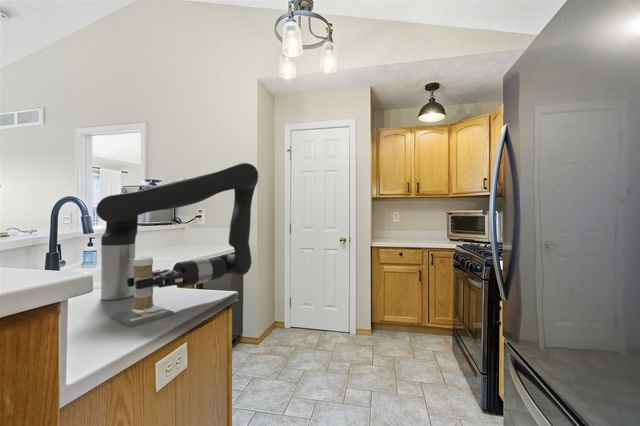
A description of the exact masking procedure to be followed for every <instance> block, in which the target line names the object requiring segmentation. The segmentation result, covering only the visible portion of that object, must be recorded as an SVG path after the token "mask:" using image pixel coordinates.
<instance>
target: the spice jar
mask: <svg viewBox="0 0 640 426" xmlns="http://www.w3.org/2000/svg"><path fill="white" fill-rule="evenodd" d="M153 259H154V258H153V256H140V257H135V259H133V266H134V295H133V299H134V300H133V301H134V302H133V304H134V305H133V309H135V310H145V309H149V308H151V307H153V304H154V303H153V302H154V297H153V294H154V287H148V288H143V289H136V288H135V282H136V281H137V280H142V279H148V278H153V275H152V271H153V266H154V265H153V264H154V260H153Z"/></svg>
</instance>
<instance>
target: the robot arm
mask: <svg viewBox="0 0 640 426" xmlns="http://www.w3.org/2000/svg"><path fill="white" fill-rule="evenodd" d="M258 181H259V171H258V169H257V168H256V166H255V165H253V164H251V163H249V162H248V163H247V162H242V163H238V164H235V165H232V166H228V167H226V168H223V169H220V170H217V171H214V172H209V173H204V174H199V175H195V176H190V177H184V178H178V179H177V180H171V181H169V182H166V183H162V184H158V185H156V186H152V187H149V188H146V189H142V190H138V191H131V192H127V193H126V192H125V193H117V194H109V195H107V196H105V197H104V198H102V199H101V200H100V201H99V202H98V204H97V205H96V210H95V211H96V215H97V216H98V218H100V219H101V220H102V221H104V222H105V231H104V233H103V234H102V235H101V239H100V242H101V243H100V246H101V247H100V249H101V251H100V252H101V253H100V254H101V256H100V258H101V263H100V269H101V270H100V272H101V273H100V300H103V301H114V300H121V299H127V298H131V297H134V266H133V259H135V258H136V238H137V234H138V227H139V226H138V225H139V223H138V222H139V216H141V215H144V214H146V213H150V212H156V211H165V210H172V209H179V208H183V207H186V206H190V205H194V204H197V203H200V202H203V201H205V200H207V199H209V198H211V197H214V196H215V195H217V194H220V193H223V192H226V191H227V192H228V191H232V190H234V199H233V200H234V203H233V210H232V213H231V219H230V225H229V231H228V232H229V233H228V234H229V235H228V245H229V246H230V247H232V248H233V249H234V253H227V254H223V255H220V256H217V257H216V256H215V257H209V258H195V259H192V260H191V259H190V260H184V261H179V262H176V263H175V264H174V265H173V268H172V269H170V268H166V269H163V270H160V269H156V270H152V275H153V278H148V279H142V280H137V281H136V282H135V288H136V289H143V288H148V287H153V288H161V289H163V288H165V287H167V288H168V287H172V286H173V287H174V286H176V287H178V288H186V287H190V286H194V285H199V284H203V283H206V282H208V281H213V280H217V279H220V278H223V277H224V276H225V275H229V274H230V275H231V274H232V275H237V276H243V275H246V274H247V273H248V272H249V271H250V270H251V268H252V253H251V248H250V234H251V220H252V219H251V216H252V215H251V213H252V211H251V210H252V202H253V196H254V193H255V189H256V186H257V185H258Z"/></svg>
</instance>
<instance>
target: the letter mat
mask: <svg viewBox="0 0 640 426" xmlns="http://www.w3.org/2000/svg"><path fill="white" fill-rule="evenodd" d="M173 315H175V311H173V310H170V309H167V308H165V307H162V306H159V305H156V304H154V303H153V307H151V308H149V309H145V310H135V309H134V308H131V309H128V310H123V311H120V312H115V313H111V314H109V316H108V317H109V318H110V319H112V320H114V321H116V322H118V323H120V324H122V325H124V326H127V327H128V328H132V327H136V326H138V325H141V324H146V323H149V322H153V321H156V320H160V319H163V318H167V317H170V316H173Z"/></svg>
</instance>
